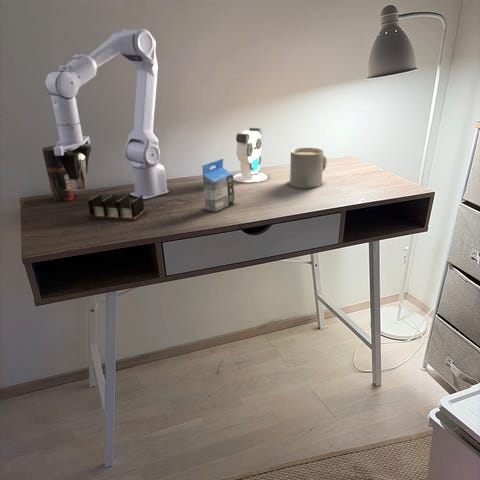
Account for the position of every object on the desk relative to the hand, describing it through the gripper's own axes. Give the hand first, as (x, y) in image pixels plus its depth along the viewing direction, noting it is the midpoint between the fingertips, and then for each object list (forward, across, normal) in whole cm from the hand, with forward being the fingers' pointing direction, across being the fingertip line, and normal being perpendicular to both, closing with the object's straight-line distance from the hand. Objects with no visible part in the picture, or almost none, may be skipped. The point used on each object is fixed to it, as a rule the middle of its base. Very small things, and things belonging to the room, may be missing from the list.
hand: (78, 177), depth 138 cm
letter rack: (+10, 0, +10) cm, 14 cm away
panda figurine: (+10, -42, +37) cm, 57 cm away
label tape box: (+10, -12, +36) cm, 39 cm away
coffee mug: (+11, -40, +58) cm, 71 cm away
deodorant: (+10, -11, -14) cm, 21 cm away
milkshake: (+3, 0, 0) cm, 3 cm away
